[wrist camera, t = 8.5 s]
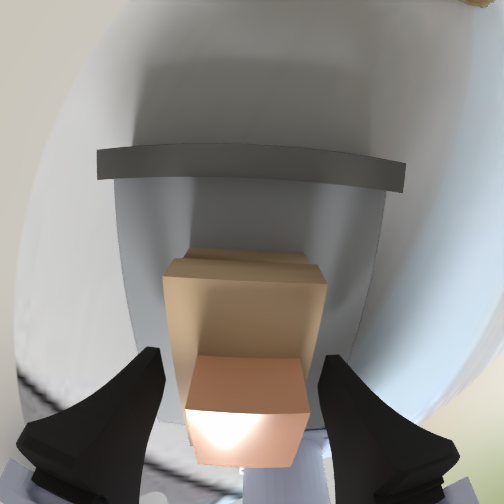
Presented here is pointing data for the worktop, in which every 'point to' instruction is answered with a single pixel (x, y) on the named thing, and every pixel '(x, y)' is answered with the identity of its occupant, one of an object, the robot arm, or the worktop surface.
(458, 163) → the worktop surface
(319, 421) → the dock
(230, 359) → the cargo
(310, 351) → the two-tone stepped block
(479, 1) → the brown rounded lump
